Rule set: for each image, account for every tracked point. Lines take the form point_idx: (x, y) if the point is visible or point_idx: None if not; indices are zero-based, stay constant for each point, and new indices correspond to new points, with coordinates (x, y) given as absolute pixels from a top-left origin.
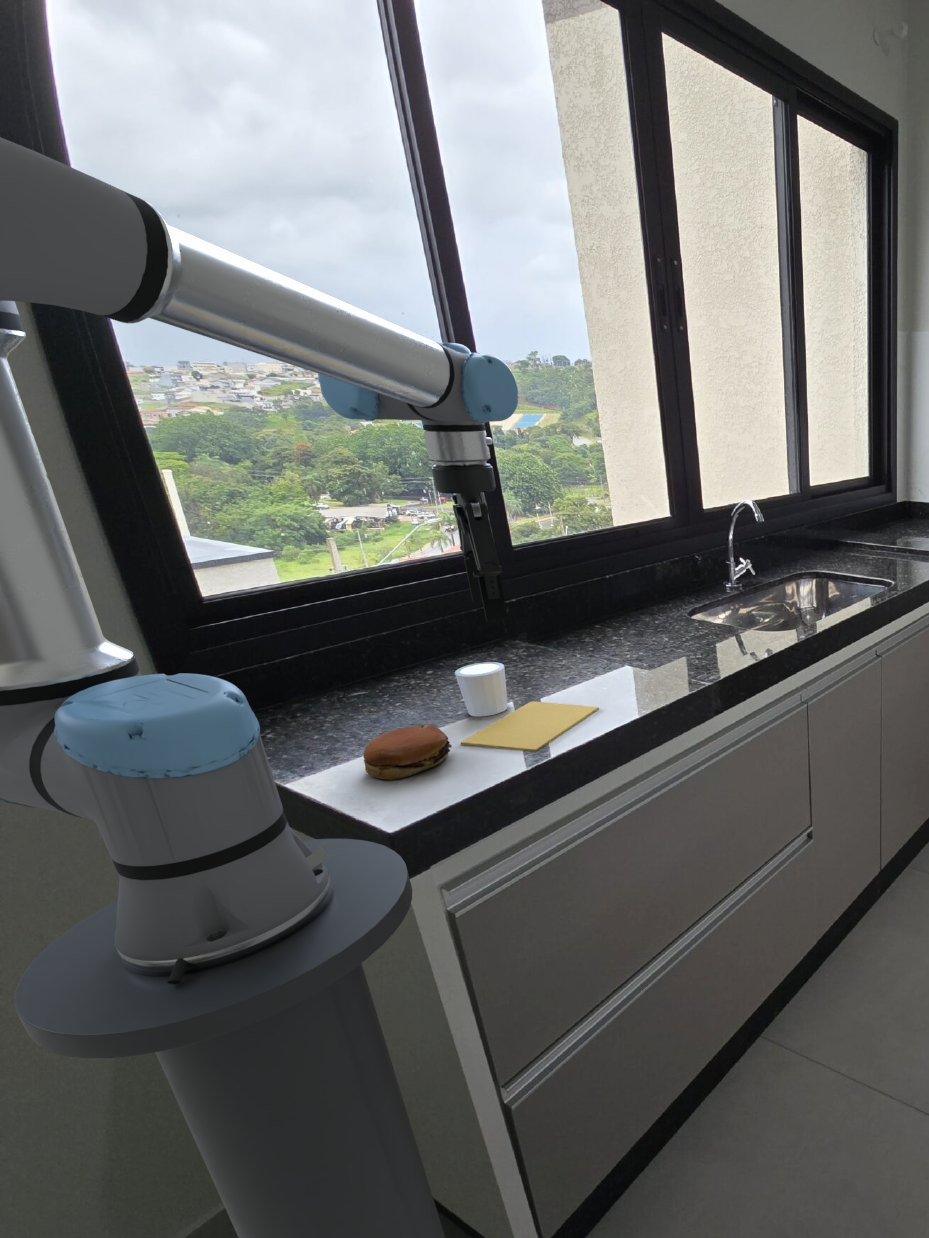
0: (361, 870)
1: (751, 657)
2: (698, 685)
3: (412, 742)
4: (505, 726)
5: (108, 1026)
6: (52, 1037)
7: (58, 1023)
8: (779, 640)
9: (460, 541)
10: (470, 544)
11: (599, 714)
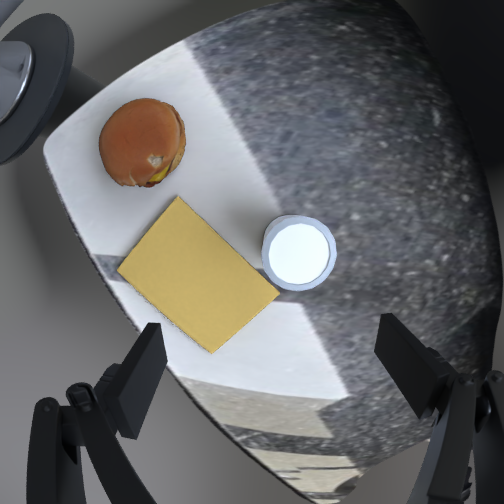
0: (6, 136)
1: (287, 470)
2: (238, 432)
3: (105, 150)
4: (201, 251)
5: None
6: None
7: None
8: (315, 485)
9: (502, 395)
10: (438, 437)
11: (203, 348)
